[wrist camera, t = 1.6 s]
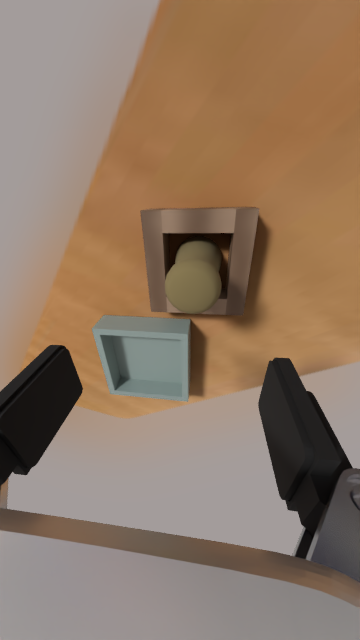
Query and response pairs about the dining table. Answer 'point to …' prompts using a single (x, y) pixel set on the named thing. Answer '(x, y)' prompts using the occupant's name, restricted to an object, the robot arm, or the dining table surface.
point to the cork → (195, 276)
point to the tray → (145, 356)
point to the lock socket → (200, 221)
